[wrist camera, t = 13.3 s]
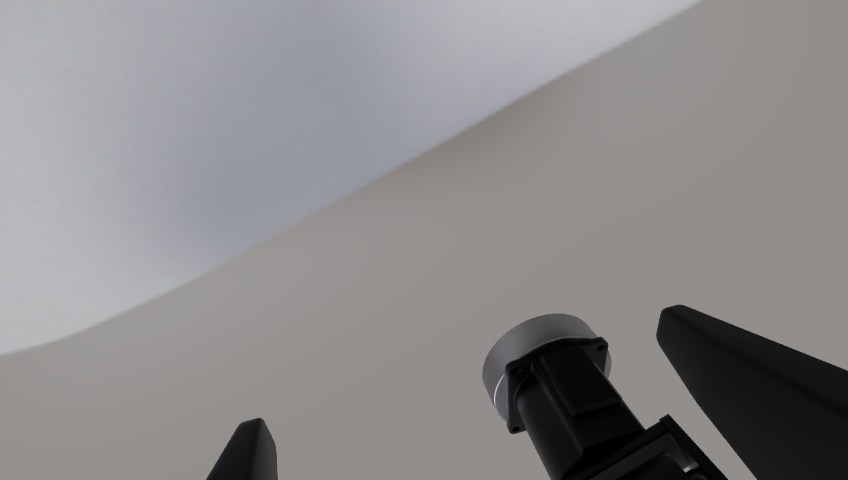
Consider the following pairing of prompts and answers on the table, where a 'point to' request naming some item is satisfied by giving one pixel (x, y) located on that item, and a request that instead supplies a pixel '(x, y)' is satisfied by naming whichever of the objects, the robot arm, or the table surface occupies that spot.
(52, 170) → the table surface
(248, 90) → the table surface
